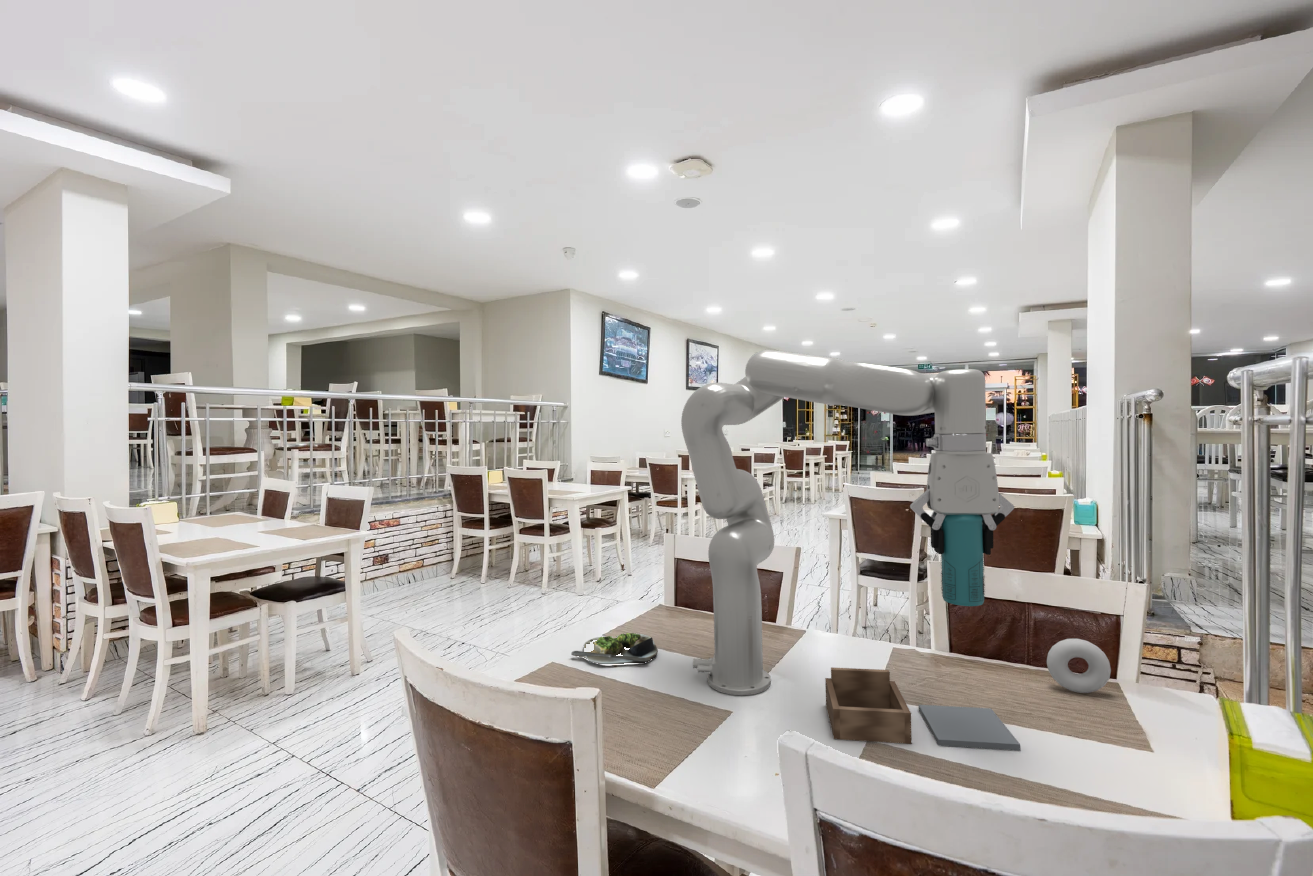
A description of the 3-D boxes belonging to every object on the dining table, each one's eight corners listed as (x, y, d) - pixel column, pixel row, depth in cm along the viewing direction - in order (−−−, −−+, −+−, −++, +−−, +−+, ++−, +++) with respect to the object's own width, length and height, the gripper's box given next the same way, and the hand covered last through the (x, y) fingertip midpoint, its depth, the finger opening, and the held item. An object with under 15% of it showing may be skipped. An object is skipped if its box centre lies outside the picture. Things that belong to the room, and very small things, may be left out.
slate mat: (938, 745, 96) (938, 739, 96) (918, 710, 108) (918, 704, 107) (1020, 750, 94) (1020, 744, 94) (991, 714, 105) (991, 708, 105)
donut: (1108, 692, 113) (1108, 639, 112) (1113, 700, 109) (1113, 645, 109) (1045, 684, 117) (1044, 632, 117) (1048, 691, 114) (1047, 638, 113)
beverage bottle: (991, 616, 96) (989, 491, 96) (946, 615, 98) (944, 491, 97) (978, 604, 103) (976, 487, 102) (936, 603, 104) (934, 487, 104)
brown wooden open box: (833, 739, 98) (833, 696, 98) (825, 705, 110) (825, 667, 110) (911, 744, 96) (910, 700, 96) (894, 708, 108) (894, 670, 108)
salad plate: (572, 675, 127) (571, 654, 127) (570, 645, 144) (570, 626, 144) (662, 667, 130) (662, 646, 130) (650, 639, 147) (650, 620, 147)
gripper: (910, 446, 97) (912, 557, 98) (1027, 444, 94) (1028, 558, 95) (899, 444, 105) (901, 547, 105) (1008, 443, 102) (1009, 548, 102)
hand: (961, 551), depth 100 cm, fingers closed on beverage bottle, 6 cm apart
